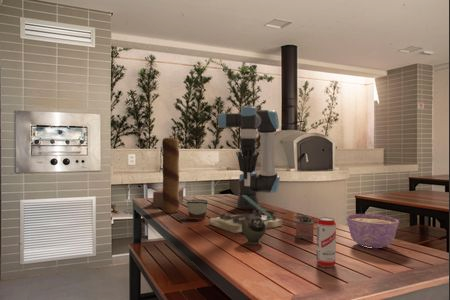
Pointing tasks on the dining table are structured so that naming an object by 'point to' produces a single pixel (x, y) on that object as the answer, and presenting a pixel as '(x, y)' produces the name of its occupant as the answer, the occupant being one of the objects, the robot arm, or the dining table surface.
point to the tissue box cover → (159, 197)
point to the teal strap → (257, 206)
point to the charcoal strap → (242, 215)
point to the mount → (236, 223)
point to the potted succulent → (304, 227)
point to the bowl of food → (372, 229)
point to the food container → (197, 208)
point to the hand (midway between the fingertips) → (247, 185)
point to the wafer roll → (170, 175)
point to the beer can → (326, 242)
